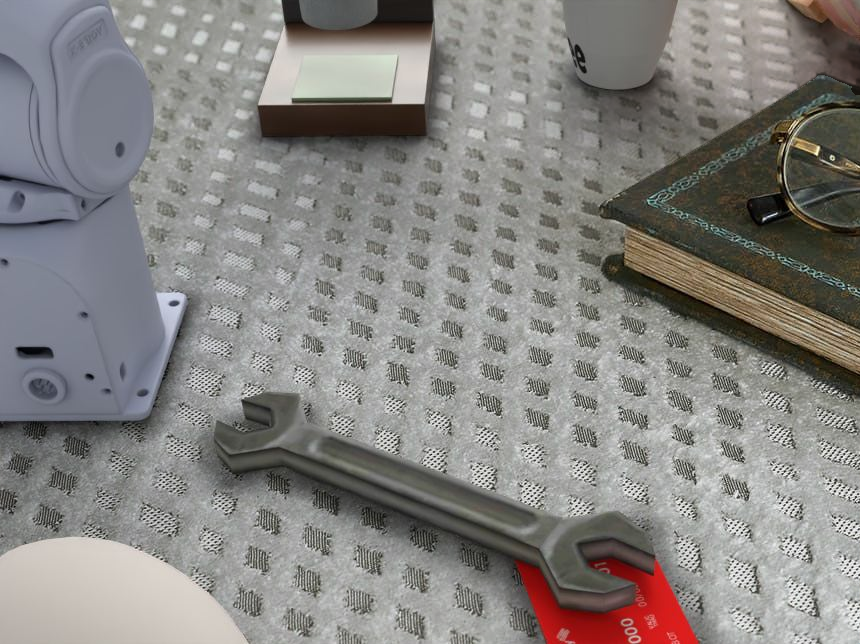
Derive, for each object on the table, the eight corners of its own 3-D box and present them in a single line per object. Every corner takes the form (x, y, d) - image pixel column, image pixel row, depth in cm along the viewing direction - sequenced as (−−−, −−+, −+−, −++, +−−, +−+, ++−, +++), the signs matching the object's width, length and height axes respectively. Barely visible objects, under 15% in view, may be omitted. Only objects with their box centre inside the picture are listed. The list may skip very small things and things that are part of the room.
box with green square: (426, 135, 72) (423, 77, 70) (262, 136, 72) (252, 79, 70) (435, 45, 82) (433, -8, 79) (290, 46, 82) (283, -7, 79)
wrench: (615, 614, 43) (189, 439, 50) (615, 642, 44) (200, 467, 51) (673, 522, 45) (260, 369, 53) (671, 551, 47) (268, 397, 54)
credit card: (512, 552, 47) (512, 551, 47) (639, 526, 48) (639, 525, 48) (577, 723, 41) (577, 722, 41) (721, 689, 42) (721, 688, 42)
